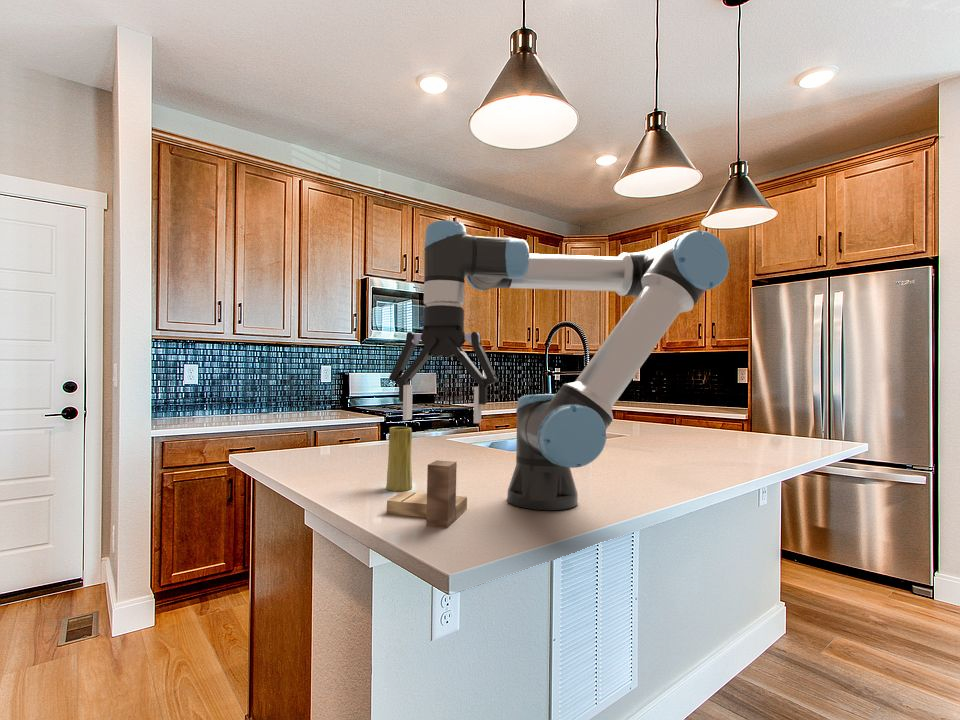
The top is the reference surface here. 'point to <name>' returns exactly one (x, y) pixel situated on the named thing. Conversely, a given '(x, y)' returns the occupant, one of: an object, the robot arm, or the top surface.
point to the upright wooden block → (441, 494)
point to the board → (418, 504)
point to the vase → (399, 459)
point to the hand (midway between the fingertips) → (441, 421)
